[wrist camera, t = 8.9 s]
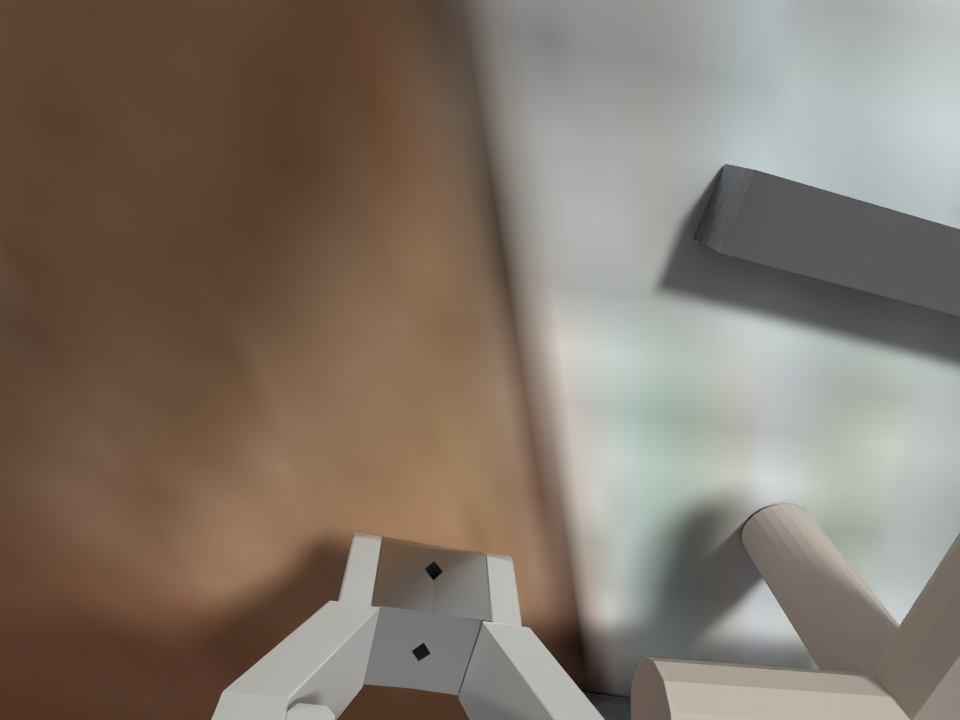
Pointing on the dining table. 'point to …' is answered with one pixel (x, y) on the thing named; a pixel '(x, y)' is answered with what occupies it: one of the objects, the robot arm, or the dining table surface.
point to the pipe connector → (822, 643)
